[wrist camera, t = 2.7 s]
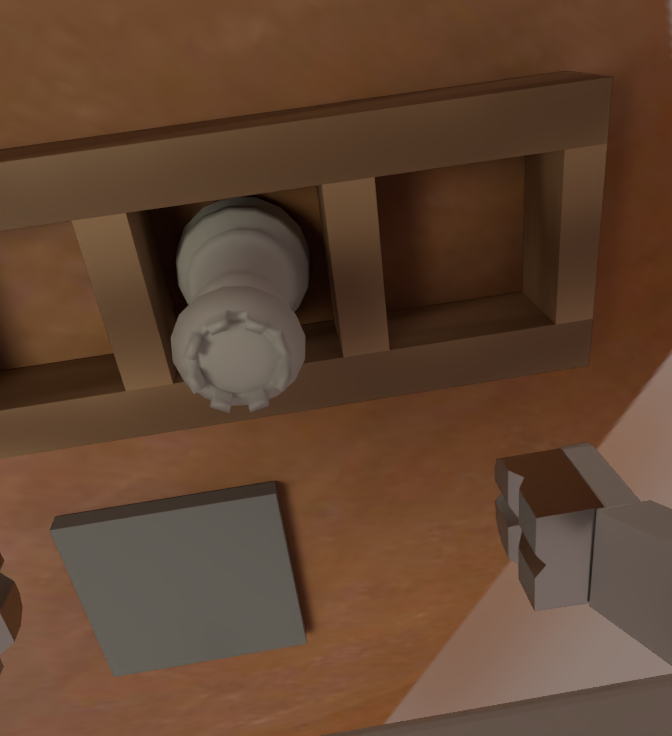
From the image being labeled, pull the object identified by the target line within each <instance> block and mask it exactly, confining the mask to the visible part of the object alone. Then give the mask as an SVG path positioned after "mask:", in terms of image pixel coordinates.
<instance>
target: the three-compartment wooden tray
mask: <svg viewBox="0 0 672 736" xmlns="http://www.w3.org/2000/svg"><path fill="white" fill-rule="evenodd" d="M612 81H613V77H609V76H602V75H594V74H586V73H578V72H570V71H562V72H555V73H548V74H541V75H534V76H526V77H519V78H512V79H505V80H498V81H490V82H483V83H476V84H469V85H461V86H454V87H447V88H440V89H433V90H425V91H418V92H411V93H404V94H397V95H389V96H382V97H375V98H368V99H361V100H353V101H346V102H339V103H332V104H325V105H317V106H310V107H303V108H296V109H289V110H281V111H274V112H267V113H260V114H253V115H245V116H238V117H231V118H224V119H217V120H209V121H202V122H195V123H188V124H181V125H173V126H166V127H159V128H152V129H145V130H137V131H130V132H123V133H116V134H109V135H101V136H94V137H87V138H80V139H73V140H65V141H58V142H51V143H44V144H37V145H29V146H22V147H15V148H8V149H1V150H0V231H4V230H11V229H18V228H25V227H32V226H39V225H46V224H53V223H60V222H67V221H72V224H73V227H74V231H75V234H76V237H77V240H78V243H79V246H80V249H81V252H82V256H83V259H84V262H85V265H86V268H87V271H88V274H89V277H90V281H91V284H92V287H93V290H94V293H95V296H96V299H97V303H98V306H99V309H100V312H101V315H102V318H103V321H104V324H105V328H106V331H107V334H108V337H109V340H110V343H111V346H112V349H113V353H114V354H109V355H103V356H96V357H89V358H83V359H76V360H70V361H63V362H57V363H50V364H44V365H37V366H30V367H24V368H17V369H11V370H4V371H0V459H1V458H7V457H13V456H20V455H26V454H32V453H39V452H45V451H51V450H58V449H64V448H70V447H77V446H83V445H89V444H96V443H102V442H108V441H115V440H121V439H127V438H134V437H140V436H146V435H153V434H159V433H165V432H172V431H178V430H184V429H191V428H197V427H203V426H210V425H216V424H222V423H229V422H235V421H241V420H248V419H254V418H260V417H267V416H273V415H279V414H286V413H292V412H298V411H305V410H311V409H317V408H324V407H330V406H336V405H343V404H349V403H355V402H362V401H368V400H374V399H381V398H387V397H393V396H400V395H406V394H412V393H419V392H425V391H431V390H438V389H444V388H450V387H457V386H463V385H469V384H476V383H482V382H488V381H495V380H501V379H507V378H514V377H520V376H526V375H533V374H539V373H545V372H552V371H558V370H564V369H571V368H577V367H583V366H589V361H590V348H591V336H592V324H593V312H594V300H595V288H596V276H597V263H598V251H599V239H600V227H601V215H602V203H603V191H604V178H605V166H606V154H607V142H608V130H609V118H610V106H611V93H612ZM518 156H525V192H524V234H523V276H522V292H516V293H509V294H502V295H496V296H489V297H483V298H476V299H470V300H463V301H457V302H450V303H443V304H437V305H430V306H424V307H417V308H411V309H404V310H398V311H391V312H386V303H385V292H384V280H383V269H382V257H381V245H380V234H379V222H378V211H377V199H376V188H375V177H379V176H386V175H393V174H400V173H407V172H414V171H421V170H428V169H435V168H442V167H449V166H456V165H463V164H470V163H477V162H484V161H490V160H497V159H504V158H511V157H518ZM310 186H316V187H317V194H318V202H319V210H320V217H321V225H322V233H323V240H324V248H325V256H326V263H327V271H328V279H329V286H330V294H331V302H332V309H333V317H334V320H332V321H325V322H319V323H312V324H306V325H301V327H302V330H303V332H304V334H305V360H304V363H303V365H302V367H301V369H300V371H299V373H298V375H297V377H296V379H295V381H294V382H293V383H292V384H290V385H289V386H288V387H287V388H286V389H285V391H284V392H281V393H280V394H279V395H278V396H277V397H274V398H271V399H269V406H266V407H264V408H261V409H259V410H256V411H253V412H251V413H250V410H249V406H248V405H240V406H231V408H230V413H227V412H224V411H221V410H218V409H215V408H212V407H210V401H211V400H209V399H206V398H204V397H203V396H201V395H200V394H199V393H195V394H193V392H192V390H191V389H190V387H189V386H188V385H187V384H186V383H185V382H184V380H183V379H182V377H181V375H180V373H179V372H178V370H177V368H176V366H175V365H174V363H173V358H172V348H171V335H172V333H173V330H174V327H175V324H176V322H177V319H176V315H175V311H174V307H173V303H172V300H171V296H170V292H169V288H168V284H167V280H166V276H165V273H164V269H163V265H162V261H161V257H160V253H159V249H158V246H157V242H156V238H155V234H154V230H153V226H152V222H151V219H150V215H149V211H148V210H150V209H157V208H164V207H171V206H178V205H185V204H192V203H199V202H206V201H212V200H219V199H226V198H233V197H240V196H247V195H254V194H261V193H268V192H275V191H282V190H289V189H296V188H303V187H310Z"/></svg>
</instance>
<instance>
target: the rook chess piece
mask: <svg viewBox="0 0 672 736" xmlns="http://www.w3.org/2000/svg"><path fill="white" fill-rule="evenodd" d="M176 252H177V257H176V271H177V283H178V286H179V288H180V290H181V292H182V294H183V296H184V298H185V299H186V301H187V303H188V306H187V307H186V308H185V309H184V310H183V311H182V312H181V313H180V314H179V316H178V319H177V322H176V324H175V327H174V330H173V333H172V335H171V348H172V358H173V363H174V365H175V366H176V368H177V370H178V372H179V373H180V375H181V377H182V379H183V380H184V382H185V383H186V384H187V385H188V386H189V387H190V389H191V390H192V392H193V394H195V393H199V394H200V395H201V396H203V397H204V398H206V399H209V400H211V401H210V407H212V408H215V409H218V410H221V411H224V412H227V413H230V408H231V406H240V405H248V406H249V410H250V413H251V412H253V411H256V410H259V409H261V408H264V407H266V406H269V399H271V398H274V397H277V396H278V395H279V394H280V393H281V392H284V391H285V389H286V388H287V387H288V386H289V385H290V384H292V383H293V382H294V381H295V379H296V377H297V375H298V373H299V371H300V369H301V367H302V365H303V363H304V360H305V334H304V332H303V330H302V327H301V325H300V323H299V321H298V318H297V316H296V314H295V313H294V312H295V311H296V310H297V309H298V308H299V306H300V304H301V302H302V299H303V297H304V295H305V293H306V291H307V288H308V286H309V278H310V250H309V247H308V245H307V242H306V240H305V237H304V235H303V232H302V230H301V227H300V226H299V225H298V224H297V223H296V222H295V221H294V220H293V219H292V218H291V217H290V216H289V215H288V214H287V213H286V212H285V211H284V210H283V209H282V208H280V207H278V206H275V205H273V204H271V203H268V202H266V201H264V200H261V199H259V198H257V197H233V198H226V199H222V200H220V201H217V202H215V203H212V204H210V205H208V206H205V207H203V208H202V209H201V210H200V211H199V212H198V213H197V214H196V215H195V216H194V217H193V218H192V219H191V221H190V222H189V223H188V224H187V225H186V226H185V228H184V230H183V233H182V236H181V239H180V242H179V245H178V247H177V250H176Z"/></svg>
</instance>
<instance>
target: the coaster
mask: <svg viewBox="0 0 672 736" xmlns="http://www.w3.org/2000/svg"><path fill="white" fill-rule="evenodd" d="M50 532H51V535H52V537H53V539H54V541H55V544H56V546H57V548H58V551H59V553H60V555H61V557H62V560H63V562H64V564H65V567H66V569H67V571H68V573H69V576H70V578H71V580H72V582H73V585H74V587H75V589H76V592H77V594H78V596H79V598H80V601H81V603H82V605H83V607H84V610H85V612H86V614H87V617H88V619H89V621H90V623H91V626H92V628H93V630H94V633H95V635H96V637H97V639H98V642H99V644H100V646H101V648H102V651H103V653H104V655H105V658H106V660H107V662H108V664H109V667H110V669H111V671H112V673H113V676H114V677H116V676H122V675H128V674H134V673H139V672H145V671H151V670H157V669H163V668H168V667H174V666H180V665H186V664H192V663H197V662H203V661H209V660H215V659H221V658H226V657H232V656H238V655H244V654H250V653H255V652H261V651H267V650H273V649H279V648H284V647H290V646H296V645H302V644H307V639H306V628H305V623H304V619H303V614H302V609H301V604H300V599H299V594H298V589H297V585H296V580H295V575H294V570H293V565H292V560H291V555H290V550H289V546H288V541H287V536H286V531H285V526H284V521H283V516H282V512H281V507H280V502H279V497H278V492H277V487H276V482H275V481H273V482H267V483H261V484H255V485H249V486H242V487H236V488H230V489H224V490H218V491H212V492H205V493H199V494H193V495H187V496H181V497H175V498H168V499H162V500H156V501H150V502H144V503H138V504H131V505H125V506H119V507H113V508H107V509H101V510H94V511H88V512H82V513H76V514H70V515H64V516H57V517H55V519H54V521H53V524H52V526H51V528H50Z"/></svg>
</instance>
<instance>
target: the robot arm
mask: <svg viewBox="0 0 672 736" xmlns="http://www.w3.org/2000/svg"><path fill="white" fill-rule="evenodd" d="M495 481H496V483H497V485H498V486H499V488H500V490H501V492H502V493H501V494H500V496H499V497H498V498H497V500H496V501H495V507H496V520H497V526H498V531H499V535H500V538H501V541H502V544H503V547H504V549H505V551H506V554H507V556H508V558H509V559H511V560H513V561H514V562H516V563H518V566H519V567H518V568H519V581H520V582H521V584H522V587H523V589H524V591H525V593H526V595H527V597H528V599H529V601H530V603H531V605H532V607H533V609H534V611H539V610H546V609H552V608H559V607H566V606H573V605H580V604H587V603H589V606H590V607H592V608H593V609H594V610H596V611H597V612H599V613H600V614H601V615H603V616H604V617H605V618H607V619H608V620H609V621H611V622H612V623H614V624H615V625H616V626H618V627H619V628H620V629H622V630H623V631H625V632H626V633H627V634H629V635H630V636H631V637H633V638H634V639H636V640H637V641H638V642H640V643H641V644H642V645H644V646H645V647H647V648H648V649H649V650H651V651H652V652H653V653H655V654H657V655H658V656H659V657H660V658H662V659H663V660H664V661H666V662H667V663H669V664H670V665H671V666H672V509H670V508H668V507H665V506H663V505H660V504H658V503H656V502H653V501H651V500H650V501H643V502H641V501H640V500H639V499H638V498H637V496H636V495H635V494H634V493H633V492H632V491H631V489H630V488H629V487H628V486H627V485H626V483H625V482H624V481H623V480H622V479H621V478H620V476H619V475H618V474H617V473H616V472H615V471H614V469H613V468H612V467H611V466H610V465H609V464H608V462H607V461H606V460H605V459H604V458H603V457H602V455H601V454H600V453H599V452H598V451H597V450H596V448H595V447H594V446H593V445H592V444H590V443H588V442H583V443H578V444H573V445H568V446H563V447H558V448H556V449H552V450H546V451H541V452H535V453H529V454H523V455H517V456H511V457H505V458H499V459H496V464H495ZM3 563H4V559H3V557H2V555H1V553H0V570H1V568H2V565H3ZM21 617H22V602H21V597H20V593H19V590H18V588H17V586H16V584H15V582H14V581H13V580H11V579H10V578H8V577H6V576H5V575H3V574H1V573H0V654H2V653H3V652H4V651H5V650H6V649H7V648H8V647H9V646H10V645H11V644H12V643H14V641H15V639H16V636H17V634H18V631H19V629H20V626H21ZM3 667H4V666H3V664H2V661H1V659H0V674H1V672H2V669H3ZM321 736H672V674H667V675H661V676H656V677H650V678H644V679H639V680H633V681H628V682H622V683H616V684H611V685H605V686H599V687H593V688H588V689H582V690H577V691H571V692H565V693H560V694H554V695H549V696H543V697H538V698H532V699H526V700H521V701H515V702H509V703H504V704H498V705H492V706H487V707H481V708H475V709H470V710H464V711H458V712H453V713H447V714H442V715H435V716H430V717H424V718H418V719H413V720H407V721H401V722H396V723H390V724H384V725H378V726H373V727H367V728H361V729H356V730H350V731H344V732H338V733H333V734H327V735H321Z"/></svg>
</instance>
